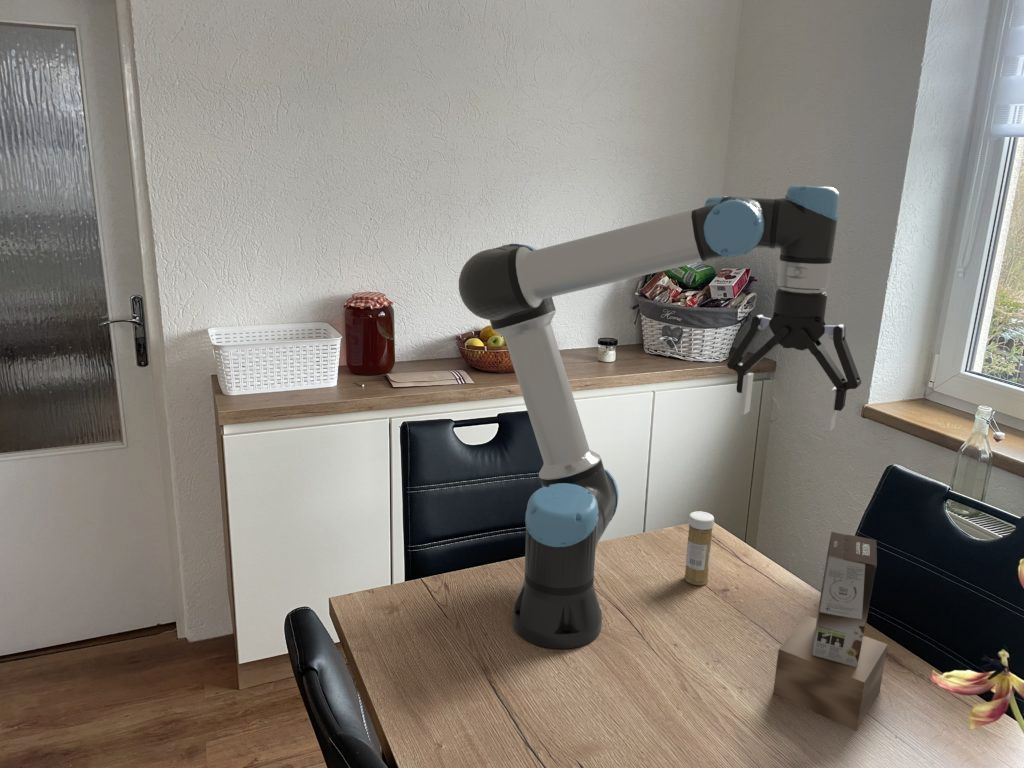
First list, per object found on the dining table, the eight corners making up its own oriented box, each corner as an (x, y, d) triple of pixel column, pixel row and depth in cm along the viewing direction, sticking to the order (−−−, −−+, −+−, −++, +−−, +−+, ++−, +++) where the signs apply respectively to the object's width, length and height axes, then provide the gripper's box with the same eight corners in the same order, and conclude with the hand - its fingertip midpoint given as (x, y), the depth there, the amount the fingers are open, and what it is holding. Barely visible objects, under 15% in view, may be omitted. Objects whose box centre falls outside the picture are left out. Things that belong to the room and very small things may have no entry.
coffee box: (858, 669, 111) (877, 566, 107) (810, 656, 113) (826, 555, 109) (860, 636, 119) (878, 539, 115) (815, 624, 121) (831, 529, 117)
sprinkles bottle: (712, 580, 150) (719, 515, 146) (699, 589, 147) (705, 522, 143) (692, 572, 153) (698, 508, 150) (678, 579, 150) (684, 514, 146)
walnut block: (772, 696, 117) (778, 649, 115) (800, 659, 126) (806, 615, 124) (856, 731, 110) (864, 682, 108) (879, 690, 119) (887, 644, 117)
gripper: (715, 283, 125) (703, 411, 130) (884, 300, 111) (863, 442, 117) (731, 279, 131) (720, 401, 136) (894, 295, 117) (873, 430, 123)
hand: (785, 420), depth 127 cm, fingers open, 13 cm apart
